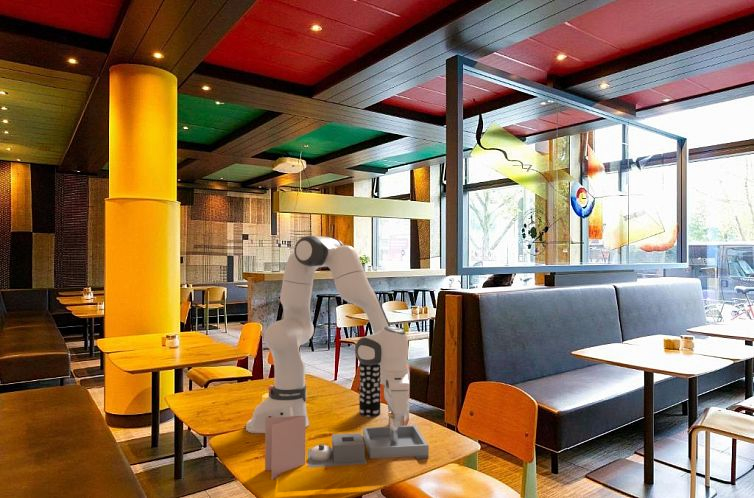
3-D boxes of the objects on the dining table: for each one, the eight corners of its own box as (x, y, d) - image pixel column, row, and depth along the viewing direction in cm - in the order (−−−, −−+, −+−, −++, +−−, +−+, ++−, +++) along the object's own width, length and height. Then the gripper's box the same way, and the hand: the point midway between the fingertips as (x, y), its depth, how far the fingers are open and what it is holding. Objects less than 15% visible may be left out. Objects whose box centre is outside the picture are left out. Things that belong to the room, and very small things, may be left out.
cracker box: (405, 432, 169) (405, 372, 169) (388, 431, 170) (388, 372, 170) (410, 419, 182) (410, 364, 183) (394, 418, 184) (394, 363, 184)
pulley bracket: (308, 470, 138) (308, 449, 138) (307, 452, 151) (308, 433, 151) (366, 467, 140) (366, 446, 141) (361, 449, 153) (361, 430, 153)
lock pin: (389, 447, 152) (389, 415, 153) (387, 443, 156) (387, 412, 156) (400, 447, 153) (400, 415, 153) (398, 443, 156) (398, 412, 157)
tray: (370, 461, 144) (370, 448, 144) (363, 439, 162) (363, 427, 162) (428, 458, 147) (428, 445, 147) (415, 436, 165) (415, 425, 165)
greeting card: (305, 466, 141) (305, 414, 141) (305, 477, 134) (306, 423, 134) (265, 468, 139) (265, 416, 140) (263, 480, 132) (264, 425, 132)
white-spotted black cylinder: (361, 409, 194) (361, 360, 195) (381, 410, 193) (381, 360, 194) (357, 416, 186) (357, 364, 186) (378, 417, 185) (379, 365, 185)
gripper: (379, 370, 165) (379, 411, 164) (390, 386, 145) (390, 432, 144) (397, 370, 166) (397, 410, 165) (410, 385, 145) (410, 431, 145)
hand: (394, 421), depth 155 cm, fingers open, 8 cm apart
